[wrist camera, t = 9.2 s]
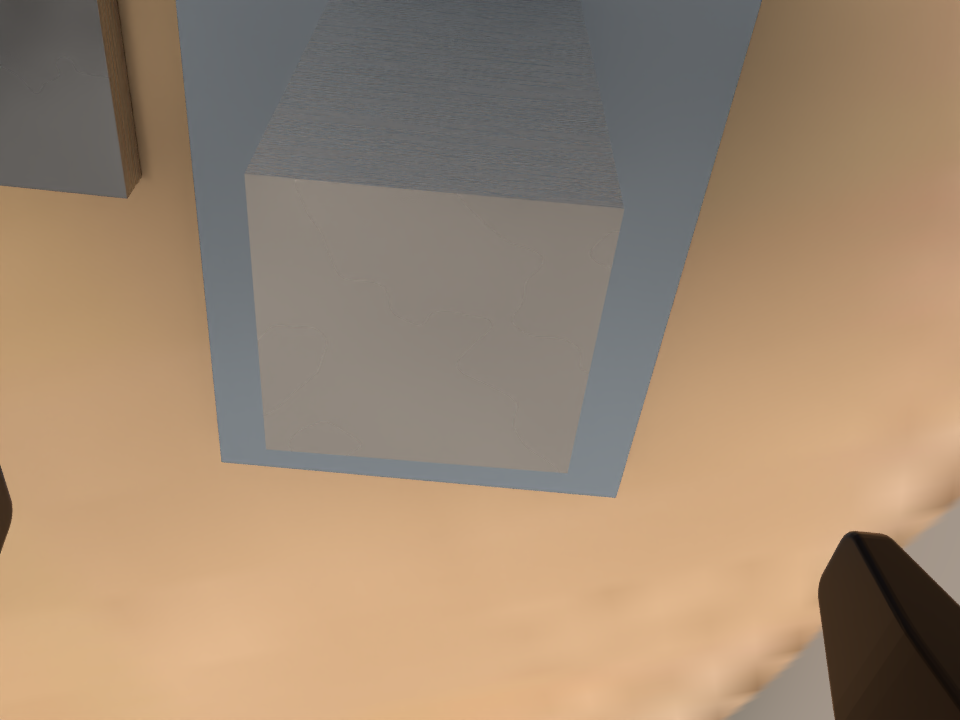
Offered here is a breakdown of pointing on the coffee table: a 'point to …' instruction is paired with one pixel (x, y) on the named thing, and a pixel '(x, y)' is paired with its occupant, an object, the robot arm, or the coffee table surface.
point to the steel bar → (434, 234)
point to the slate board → (641, 174)
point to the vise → (65, 99)
